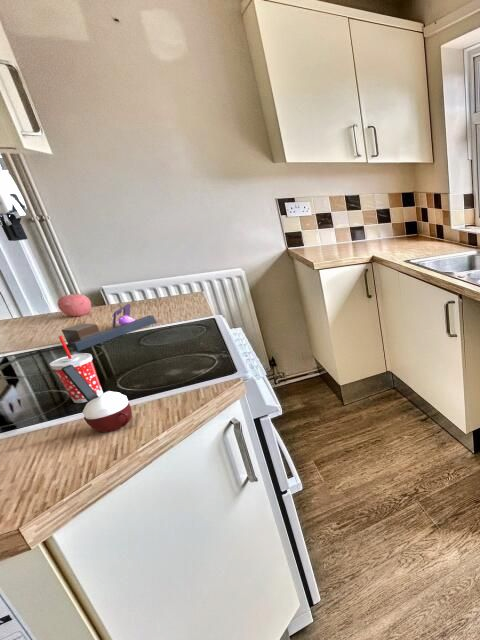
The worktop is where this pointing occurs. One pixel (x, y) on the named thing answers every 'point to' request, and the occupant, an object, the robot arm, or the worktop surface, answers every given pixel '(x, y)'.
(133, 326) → the rail
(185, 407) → the worktop surface
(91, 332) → the walnut block
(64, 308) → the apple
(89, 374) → the beverage cup
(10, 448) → the worktop surface
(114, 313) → the purple looped trinket
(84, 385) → the cocoa
